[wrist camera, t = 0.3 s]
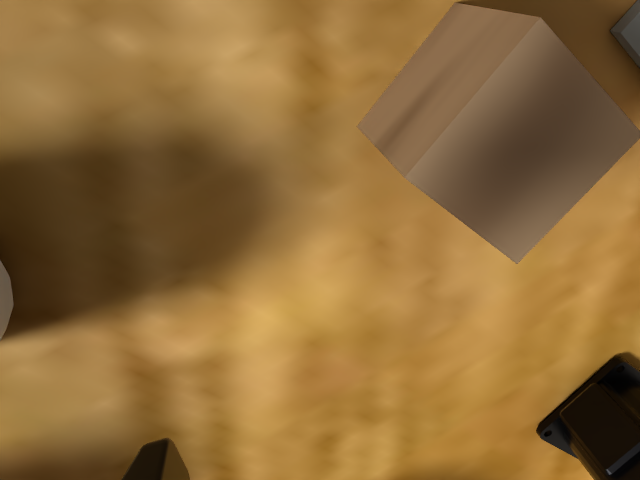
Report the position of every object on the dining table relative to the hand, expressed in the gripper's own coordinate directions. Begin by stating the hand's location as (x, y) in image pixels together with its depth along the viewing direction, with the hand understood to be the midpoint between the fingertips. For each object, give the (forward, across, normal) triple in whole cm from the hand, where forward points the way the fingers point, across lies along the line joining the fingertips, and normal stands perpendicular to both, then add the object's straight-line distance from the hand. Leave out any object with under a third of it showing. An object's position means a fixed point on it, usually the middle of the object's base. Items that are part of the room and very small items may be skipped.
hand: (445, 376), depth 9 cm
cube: (+13, -6, 0) cm, 14 cm away
